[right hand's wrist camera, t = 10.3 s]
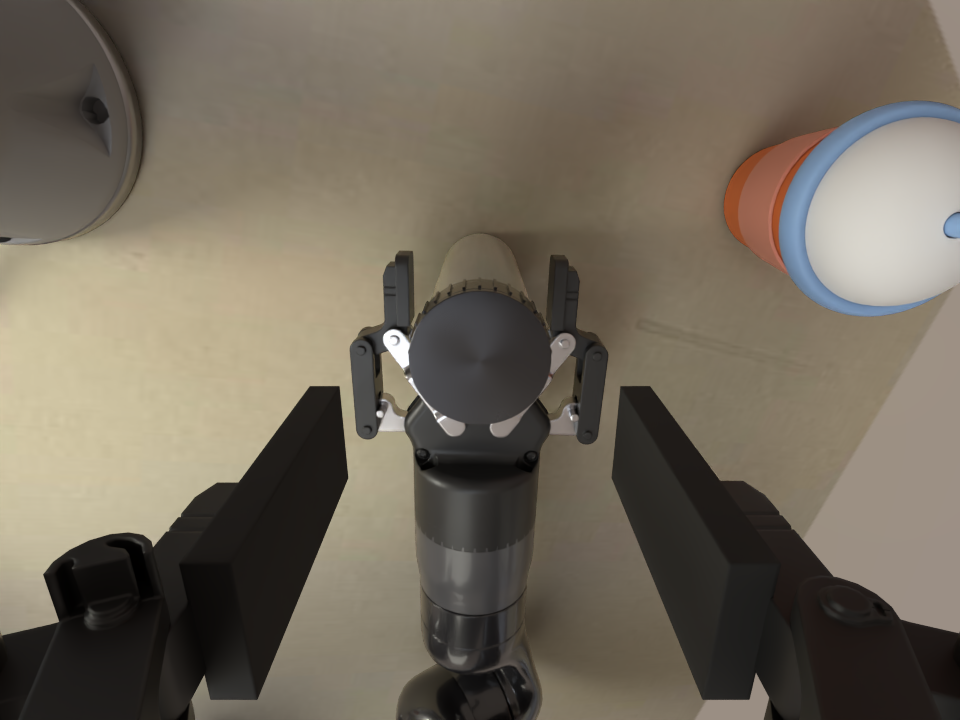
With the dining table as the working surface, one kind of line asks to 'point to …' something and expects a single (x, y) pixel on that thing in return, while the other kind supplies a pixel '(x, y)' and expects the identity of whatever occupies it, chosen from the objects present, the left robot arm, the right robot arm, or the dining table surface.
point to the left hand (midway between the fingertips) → (481, 255)
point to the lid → (479, 352)
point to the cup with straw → (858, 208)
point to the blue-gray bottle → (480, 263)
